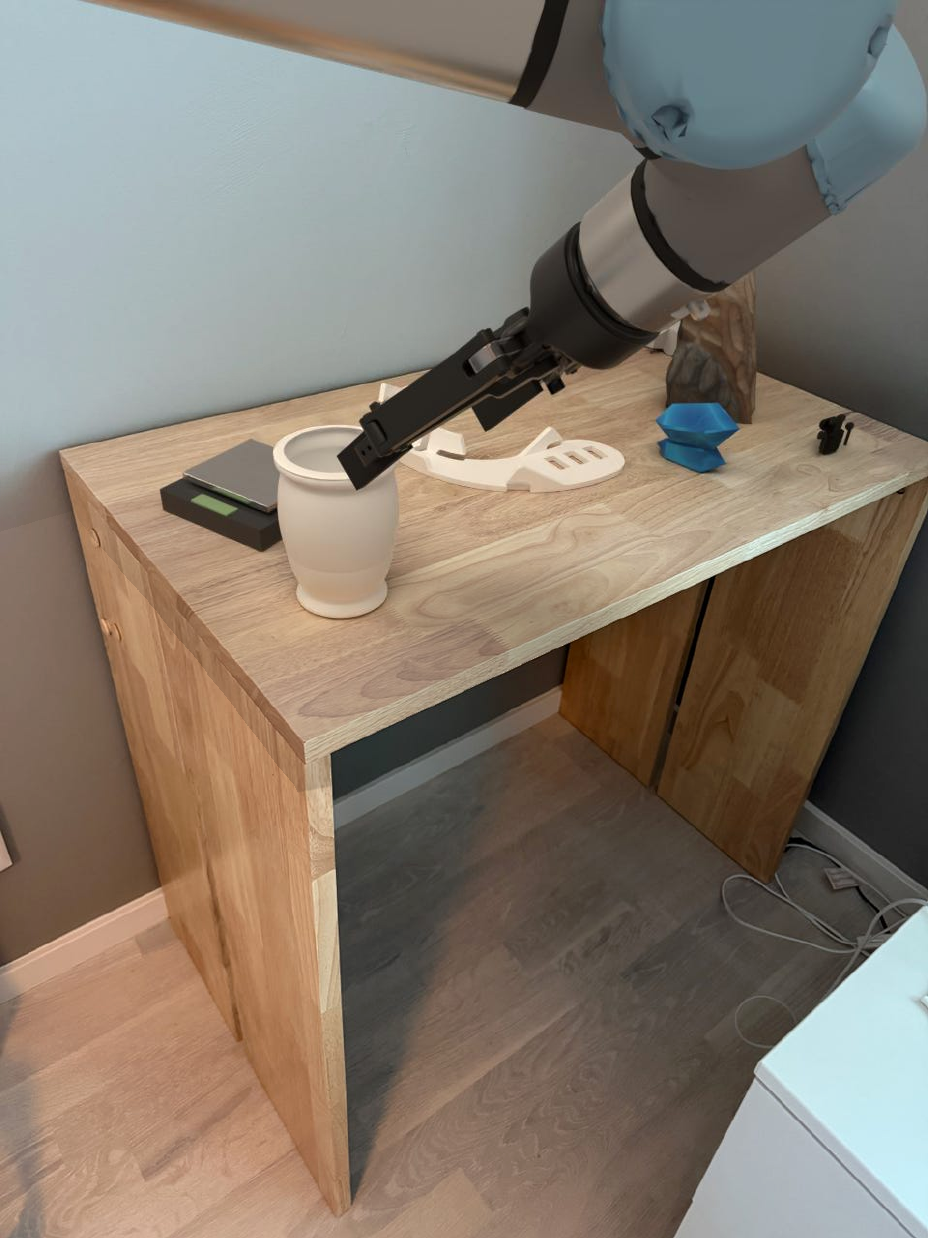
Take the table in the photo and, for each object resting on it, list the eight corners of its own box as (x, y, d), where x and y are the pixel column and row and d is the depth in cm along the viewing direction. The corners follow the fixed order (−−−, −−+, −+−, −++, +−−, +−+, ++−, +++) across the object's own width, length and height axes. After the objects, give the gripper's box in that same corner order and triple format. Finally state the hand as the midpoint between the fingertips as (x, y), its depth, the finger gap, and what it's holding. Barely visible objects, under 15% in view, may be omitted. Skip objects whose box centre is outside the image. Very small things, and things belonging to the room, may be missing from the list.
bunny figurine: (679, 338, 134) (604, 301, 141) (670, 369, 137) (596, 332, 145) (713, 326, 140) (639, 291, 147) (703, 356, 143) (631, 320, 150)
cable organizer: (640, 467, 107) (645, 442, 105) (488, 522, 95) (491, 494, 93) (464, 374, 129) (465, 351, 127) (322, 409, 116) (320, 384, 114)
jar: (295, 635, 78) (283, 484, 69) (277, 572, 85) (264, 428, 76) (411, 617, 81) (414, 470, 72) (383, 558, 88) (383, 418, 79)
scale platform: (182, 478, 93) (181, 472, 93) (251, 444, 100) (250, 438, 100) (268, 513, 88) (267, 506, 88) (333, 474, 96) (333, 468, 95)
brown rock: (660, 419, 119) (690, 266, 107) (649, 383, 129) (675, 240, 118) (753, 425, 119) (794, 272, 107) (734, 389, 129) (769, 246, 117)
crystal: (668, 388, 110) (759, 395, 103) (669, 454, 114) (756, 466, 107) (636, 403, 106) (729, 412, 98) (638, 472, 110) (727, 485, 102)
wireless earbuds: (814, 460, 112) (826, 423, 109) (799, 452, 113) (810, 415, 110) (849, 448, 115) (861, 412, 112) (833, 441, 116) (845, 405, 113)
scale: (163, 509, 94) (159, 487, 92) (254, 462, 103) (252, 441, 102) (261, 552, 88) (259, 529, 86) (348, 497, 98) (348, 476, 96)
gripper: (515, 398, 40) (314, 550, 57) (760, 291, 56) (547, 435, 72) (432, 252, 40) (255, 448, 56) (703, 185, 55) (501, 355, 72)
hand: (418, 441), depth 64 cm, fingers open, 13 cm apart
